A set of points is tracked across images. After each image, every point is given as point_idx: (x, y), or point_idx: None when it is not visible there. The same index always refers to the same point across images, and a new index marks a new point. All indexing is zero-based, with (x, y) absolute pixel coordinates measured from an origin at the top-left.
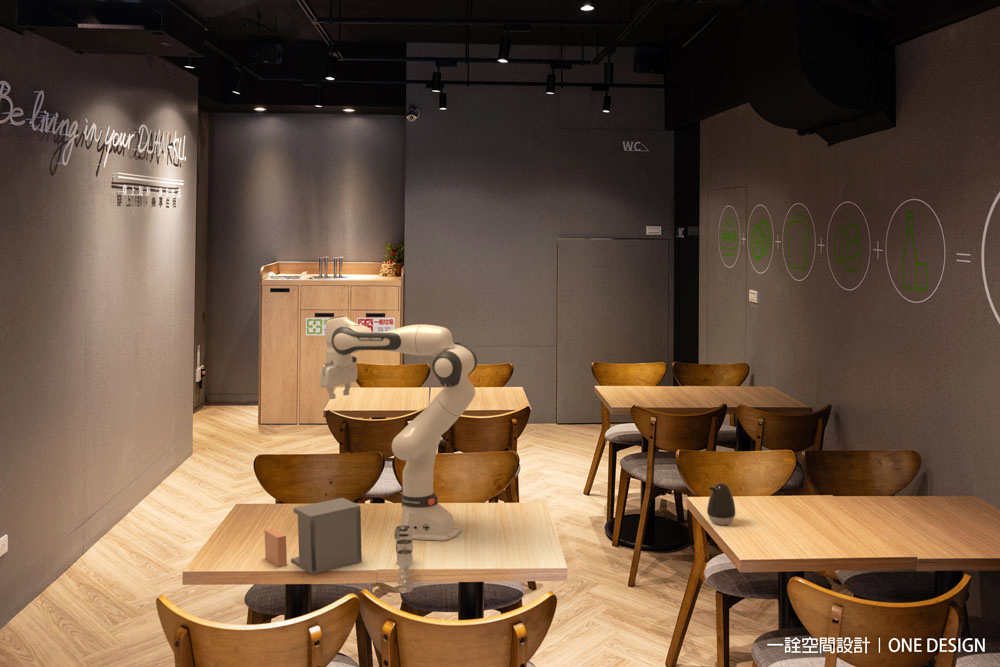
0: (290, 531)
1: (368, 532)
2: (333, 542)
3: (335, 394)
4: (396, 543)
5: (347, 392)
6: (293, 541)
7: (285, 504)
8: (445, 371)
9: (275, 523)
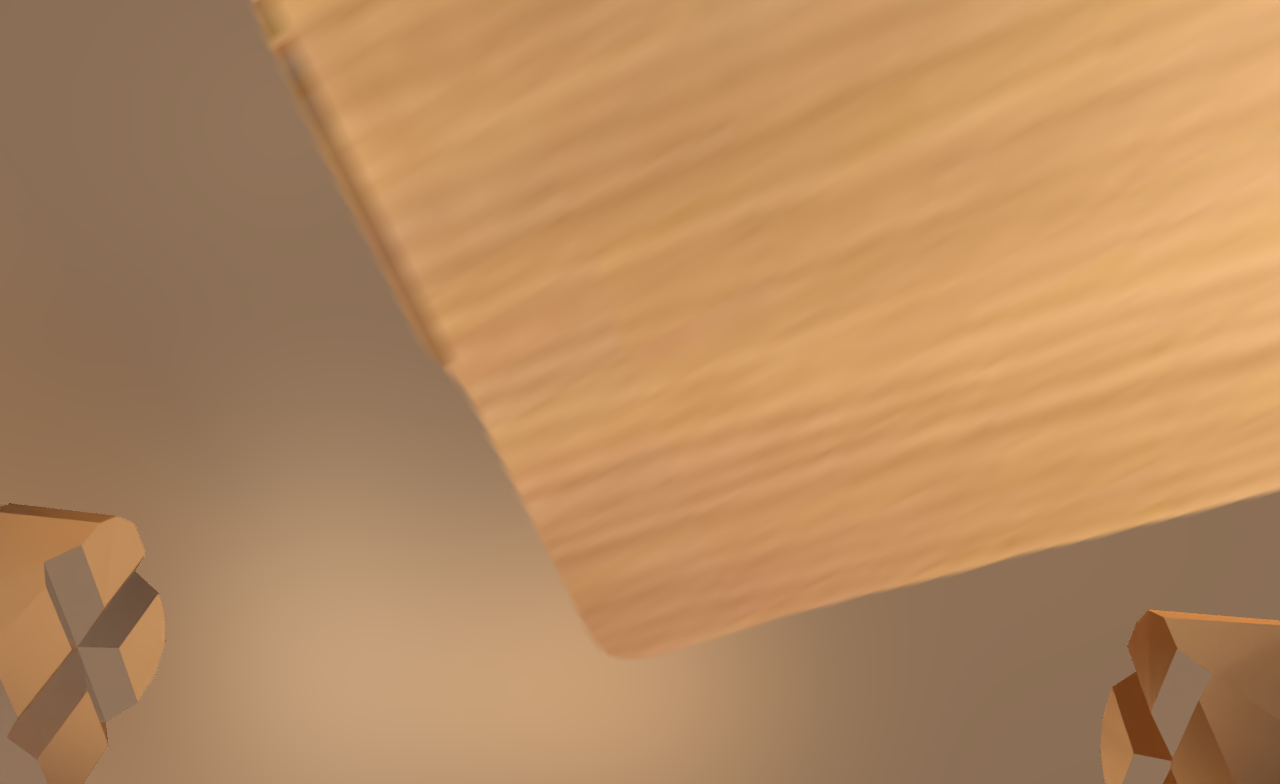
0: (1025, 176)
1: None
2: None
3: (1224, 757)
4: None
5: (20, 585)
6: (1244, 35)
7: (527, 478)
8: None
9: (886, 351)
